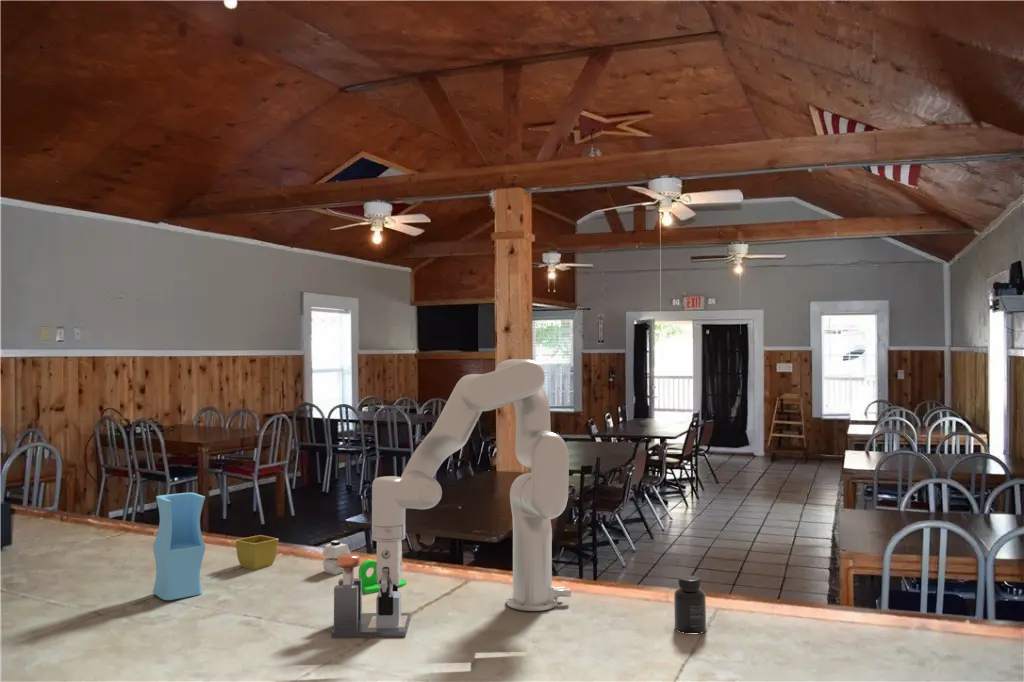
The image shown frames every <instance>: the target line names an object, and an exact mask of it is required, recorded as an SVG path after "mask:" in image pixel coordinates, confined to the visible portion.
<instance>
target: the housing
mask: <svg viewBox="0 0 1024 682" xmlns="http://www.w3.org/2000/svg"><path fill="white" fill-rule="evenodd" d="M377 593H378V594H377V595H376V597H375V599H376V600H375V602H376V605H375V606H376V607H375V609H376V610H375V613H376V625H399V622H400V619H401V613H402V590H401V591H399V590H398V591H392V596H393V615H382V616H380V615H378V597H379V592H377Z"/></svg>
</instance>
